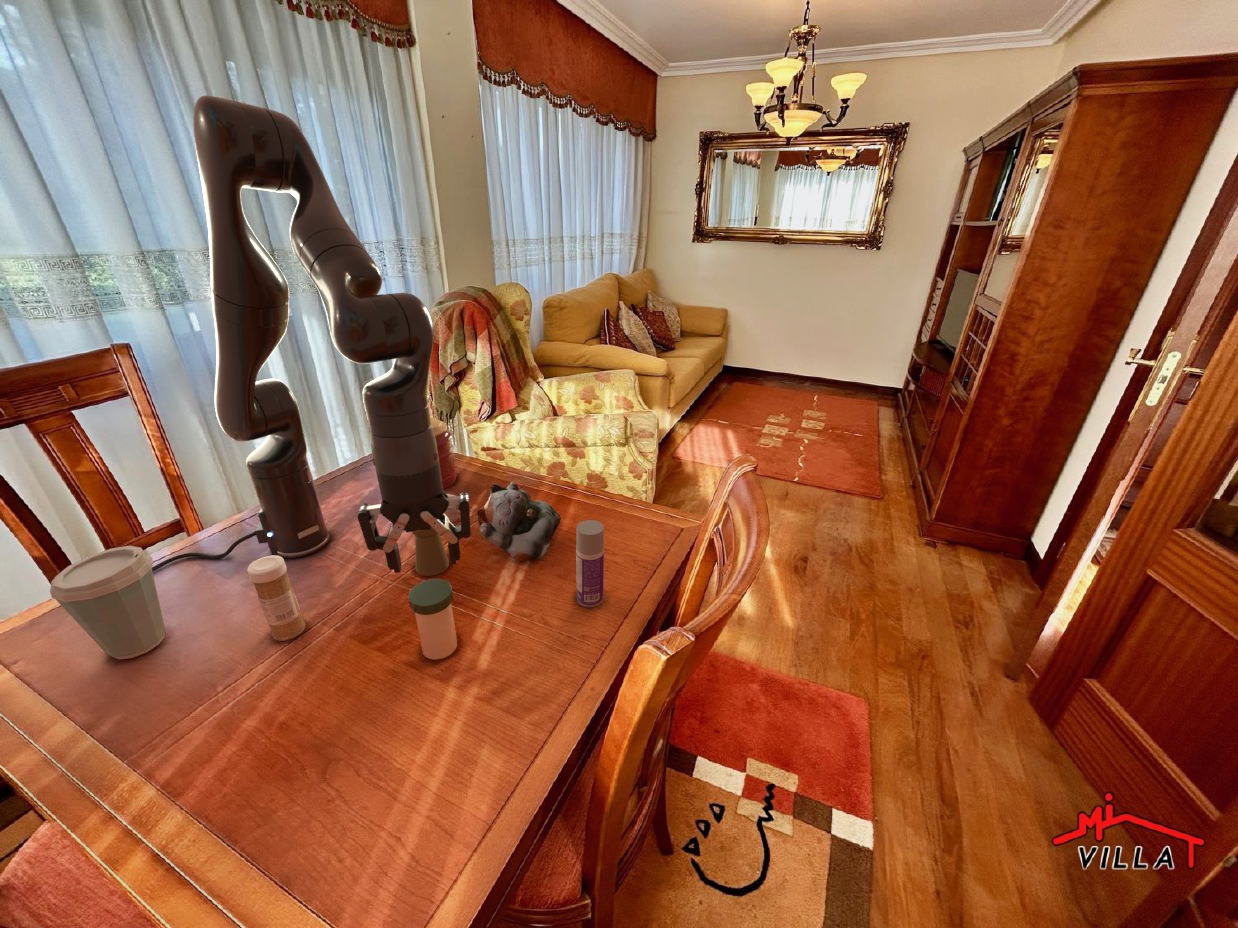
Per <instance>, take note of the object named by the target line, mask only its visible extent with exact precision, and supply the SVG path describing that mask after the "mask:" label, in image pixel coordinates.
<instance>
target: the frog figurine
mask: <svg viewBox="0 0 1238 928" xmlns="http://www.w3.org/2000/svg"><path fill="white" fill-rule="evenodd" d="M446 495H447V496H448V497H452V496H456V495H454V494H451V493H446ZM444 514H445V515H446V516H447V517H448V518H449V521H450V522H451V523H455V522H456V521H457V520H458V519H460V513H457V512H455V511H454V508H453V507H452V506H448V508H447V509H446V511H445V512H444Z"/></svg>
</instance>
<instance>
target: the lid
mask: <svg viewBox="0 0 1238 928" xmlns="http://www.w3.org/2000/svg"><path fill="white" fill-rule="evenodd" d="M453 599H454V592H453V587H452V584H451V583H450V582H449V581H447V580H446V579H442V578H429V579H425V580H422V581H421V582H419V583H417V584H415V585H414V586H413V587H411V590H410V591H409V593H408V604H409V608H410V609H411V611H412V612H414V614H415V613H417V614H421V615H431V614H435V613H438V612H441V611H443V610H444V609H446V608H447V607H448V606H449V605H450V604H452V602H453V601H454V600H453Z"/></svg>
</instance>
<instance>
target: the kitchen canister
mask: <svg viewBox="0 0 1238 928" xmlns="http://www.w3.org/2000/svg"><path fill="white" fill-rule="evenodd" d="M430 418H431V424H432V429H433V432H434V435H435V439H436V444H437V451H438V458H439V464H440V471H441V477H442V484H443V490H444V489H446V488H448V487H450V486H452V485H453V484H454V483H455V482H456V481H457V475H458V471H457V470H458V469H457V467H456V462H455V453H454V450H455V447H454V445H453V443H452V442H451V440H452V438H453V434H452V432H451V431H450V430H448V425H447V423H446V422H444V421H442V420H439V419H438V418H436V417H430Z"/></svg>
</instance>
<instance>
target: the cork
mask: <svg viewBox="0 0 1238 928" xmlns="http://www.w3.org/2000/svg"><path fill="white" fill-rule="evenodd" d="M411 533H412V535H414V551H415V553H414V554H415V555H414V556H415V571H416V573H417V574H419V575H421V576H426V577H431V576H436V575H439V574H441V573H443V572H445V571H446V570H447V569H448V568H449V566H450V559H449V557H448V555H447V551H446V548H445V545H444V541H443V539H442V535H439V534H438V533H437V532H436V531H435V530H434V529H433V528H432V527H431V529H430V530H416V531H413V532H411Z"/></svg>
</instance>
